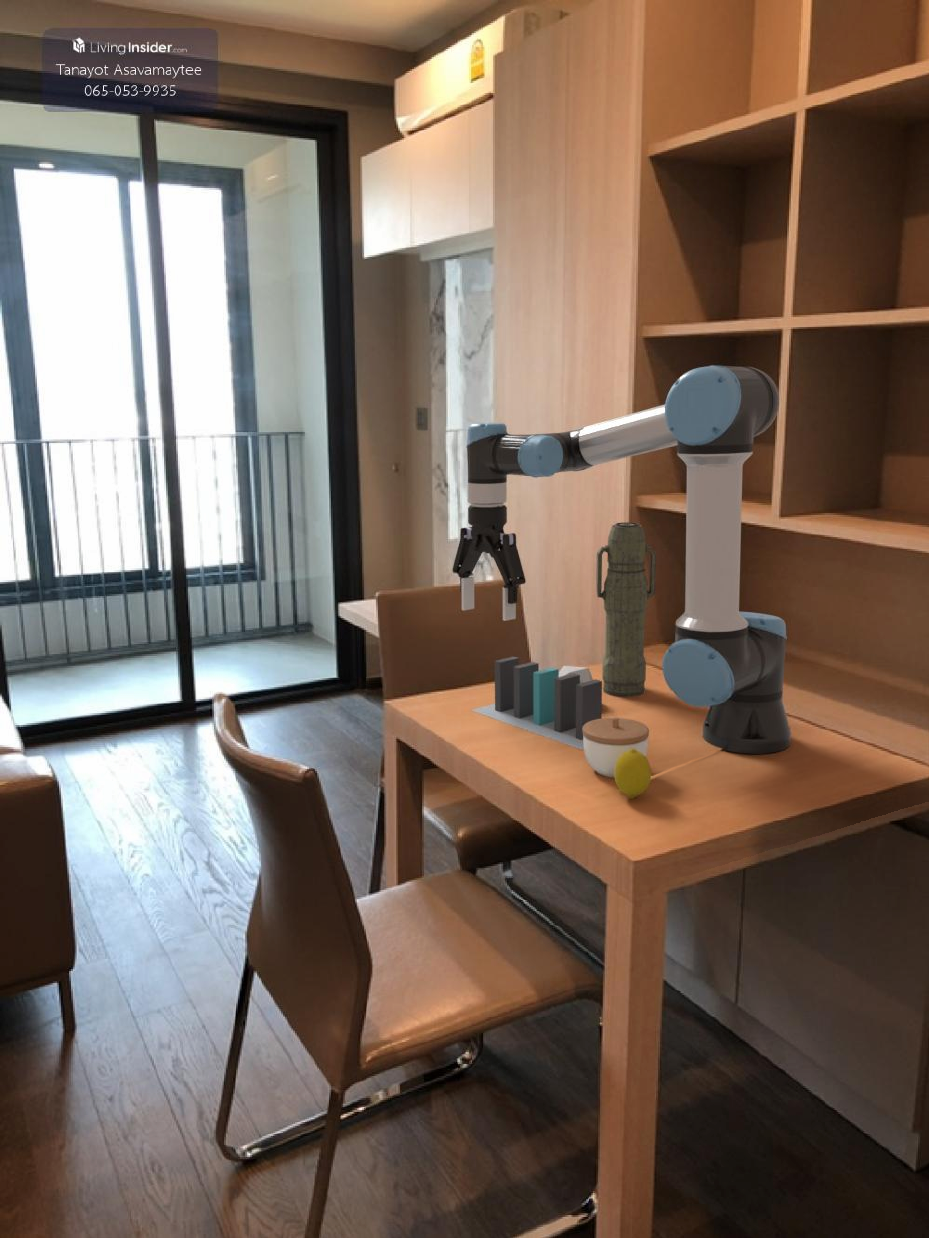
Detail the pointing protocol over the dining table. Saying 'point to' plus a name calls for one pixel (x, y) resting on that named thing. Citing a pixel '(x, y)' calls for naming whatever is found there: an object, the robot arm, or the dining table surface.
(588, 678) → the die
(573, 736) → the mat
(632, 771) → the lemon
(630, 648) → the thermos
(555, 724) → the domino
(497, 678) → the domino
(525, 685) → the domino
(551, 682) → the teal domino
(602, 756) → the lidded jar
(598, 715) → the domino
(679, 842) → the dining table surface
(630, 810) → the dining table surface
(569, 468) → the robot arm
